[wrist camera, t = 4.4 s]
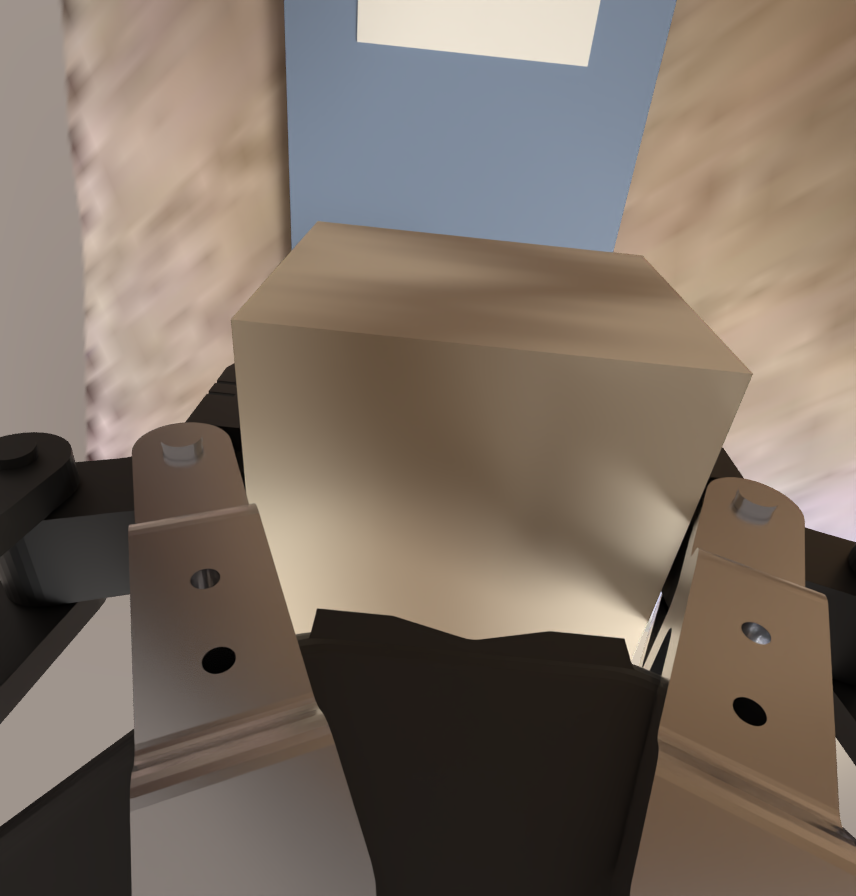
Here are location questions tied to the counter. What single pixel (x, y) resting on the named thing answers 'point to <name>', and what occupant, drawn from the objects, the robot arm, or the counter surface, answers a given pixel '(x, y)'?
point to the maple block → (476, 430)
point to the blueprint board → (470, 114)
